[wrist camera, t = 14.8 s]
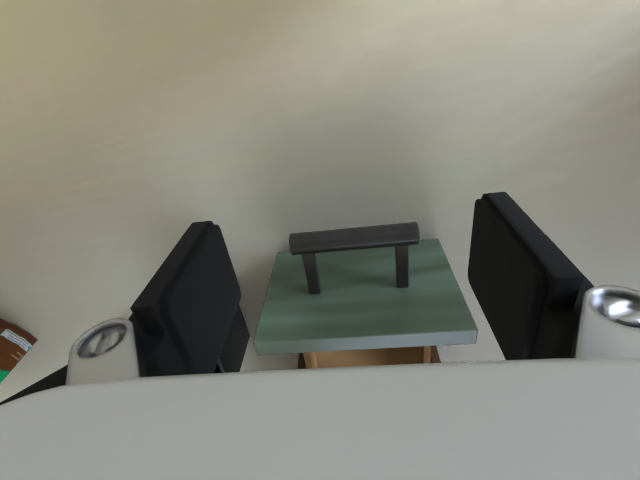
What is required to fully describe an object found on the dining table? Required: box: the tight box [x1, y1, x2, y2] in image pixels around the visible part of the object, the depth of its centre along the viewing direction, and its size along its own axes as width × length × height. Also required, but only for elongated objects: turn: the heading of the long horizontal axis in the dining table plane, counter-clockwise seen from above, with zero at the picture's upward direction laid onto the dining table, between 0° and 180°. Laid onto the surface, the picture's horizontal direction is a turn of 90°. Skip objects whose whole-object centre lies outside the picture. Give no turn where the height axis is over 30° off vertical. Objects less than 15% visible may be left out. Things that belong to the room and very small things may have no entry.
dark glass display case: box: [214, 305, 250, 373], centre depth 32 cm, size 8×5×6 cm, turn 8°
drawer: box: [253, 222, 478, 369], centre depth 28 cm, size 22×13×10 cm, turn 8°
